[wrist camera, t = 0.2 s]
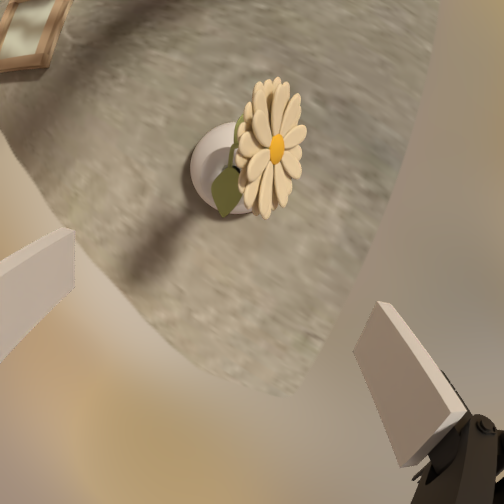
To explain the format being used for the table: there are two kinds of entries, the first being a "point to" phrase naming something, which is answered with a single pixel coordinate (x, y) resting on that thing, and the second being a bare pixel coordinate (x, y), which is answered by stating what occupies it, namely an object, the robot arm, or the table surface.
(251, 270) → the table surface
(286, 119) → the flower in vase
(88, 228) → the table surface
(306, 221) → the table surface
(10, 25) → the wooden picture frame
